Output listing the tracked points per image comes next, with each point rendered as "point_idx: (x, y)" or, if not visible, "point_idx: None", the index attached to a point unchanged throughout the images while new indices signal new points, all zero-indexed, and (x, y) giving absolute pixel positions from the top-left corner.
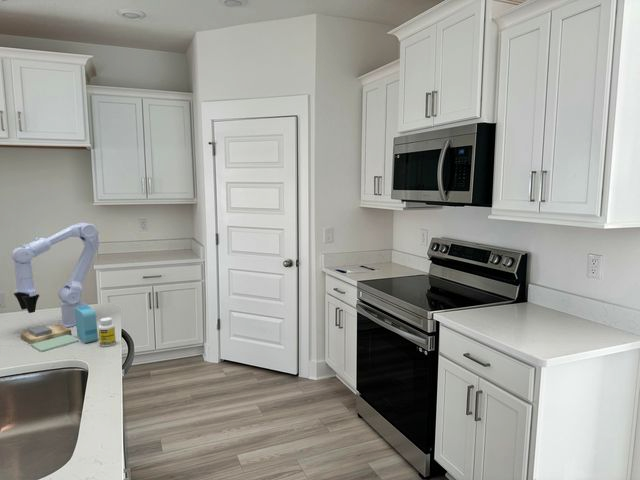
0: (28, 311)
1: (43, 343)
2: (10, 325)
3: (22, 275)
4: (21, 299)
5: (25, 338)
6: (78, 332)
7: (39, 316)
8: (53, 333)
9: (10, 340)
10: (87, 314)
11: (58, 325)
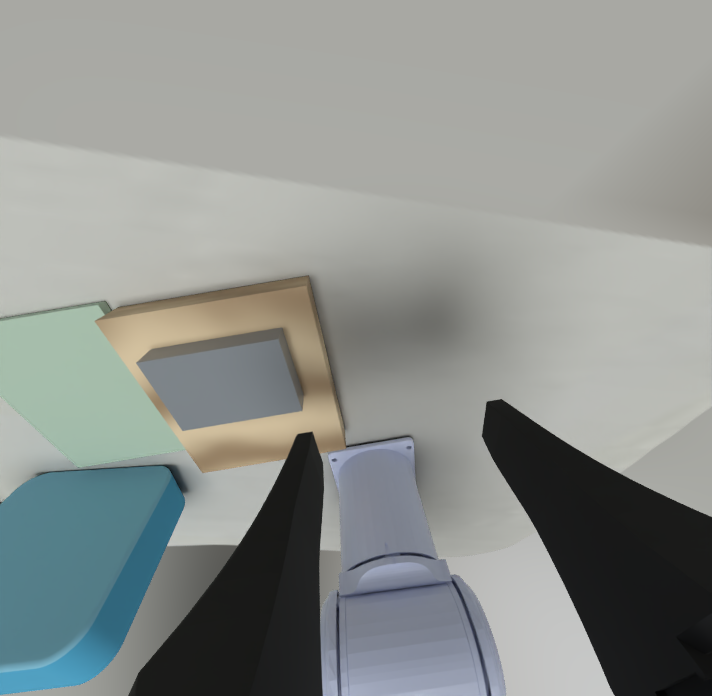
0: (293, 446)
1: (83, 358)
2: (626, 264)
3: None
4: (573, 512)
5: (212, 296)
6: (127, 489)
7: (618, 393)
8: None
9: (301, 216)
10: None
11: (318, 445)
